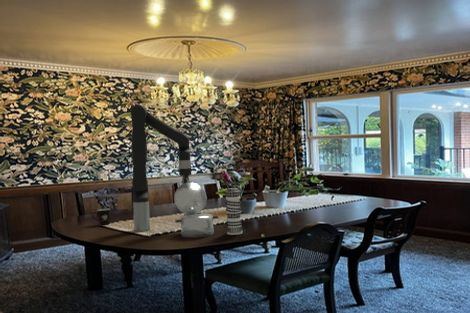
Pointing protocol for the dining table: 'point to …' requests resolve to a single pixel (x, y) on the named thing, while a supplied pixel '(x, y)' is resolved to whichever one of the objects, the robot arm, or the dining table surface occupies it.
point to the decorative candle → (233, 211)
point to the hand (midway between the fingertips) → (186, 195)
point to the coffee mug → (103, 216)
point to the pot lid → (190, 198)
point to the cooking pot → (196, 225)
